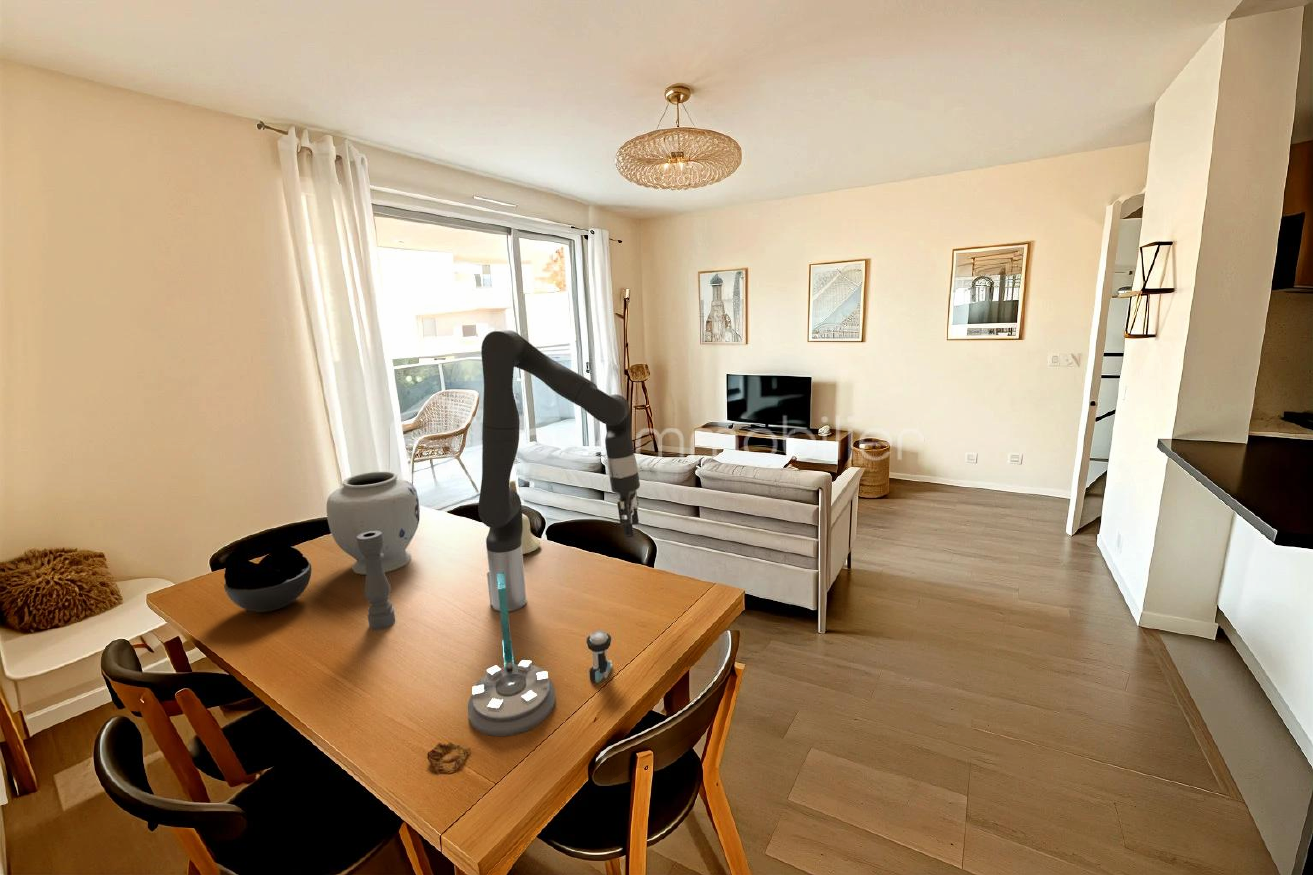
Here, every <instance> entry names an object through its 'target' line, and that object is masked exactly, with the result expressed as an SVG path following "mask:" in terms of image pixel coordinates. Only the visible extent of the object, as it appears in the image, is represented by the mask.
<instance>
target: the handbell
mask: <svg viewBox="0 0 1313 875" xmlns="http://www.w3.org/2000/svg"><path fill="white" fill-rule="evenodd" d="M509 487H510V488H512V489H514V490H515V491H516V492H517V493H518V491H517V489H518V488H517V485H516V482H515V480H511V481H510V483H509ZM522 521H523V532H522V537H521V543H522V555H524V554H530V553H531V552H533V551H535V550H537V549H538V548H539V547H540V545H541V541H540V539H539V538H538V537H536V536H535V535H534V534H533V533H532V531H531V524H530V523H531V522H530V519H529V517H528V516H527V515H526V514H524V513H522Z"/></svg>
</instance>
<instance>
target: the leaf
mask: <svg viewBox="0 0 1313 875" xmlns="http://www.w3.org/2000/svg"><path fill="white" fill-rule="evenodd" d="M454 750H456V751H457V750H458V751H457V753H458V754H457V755H454V756H452V757H451V758H448V759H447V758H446V759H445V758H444V757H445V756H447V755H449V754H452V752H453V751H454ZM470 753H471V748H470V747H469V748H466V747H462V746H461V745H459V744H455V743H452V742H451V741H449V742H448V743H447V744H446V743H441V742H438V743H437V744H436V745H435V747H434V748H433V749H431V750H430V751H428V752H427V754H426V755H427V757H426V759H427V760H428V762H429V765H431V766H432V767H433V770H434V771H436V772H437V773H438V774H445V775H448V774H450V773H451V774H452V773H454V772H456V770H457V769H460V767H461V766H462V765H463V762H464V761H465V759H466V758H467V757H468V756H469V755H470ZM454 762H455V763H454ZM447 763H448V764H450V763H454V766H452V769H447V768H445V767H444V765H443V764H447Z"/></svg>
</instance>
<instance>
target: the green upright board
mask: <svg viewBox="0 0 1313 875" xmlns="http://www.w3.org/2000/svg"><path fill="white" fill-rule="evenodd" d="M497 583H498V594H499V605H500V611H499V612H500V622H501V623H500V625H501V634H502V651H503V652H502V653H503V654H502V655H503V665H504V666H502V667H501V666H500V667H499V666H498V665H494V666H492V667H490V668H488V669H486V675H484V676H483V677H481V679H479V680H478V681H477V682H476V684H475V685H474V686H472V694H471V696H472V698H473V707H474V710H475V712H476V713H477V714H478V715H479V716H480V717H481V718H483V719H486V720H489V721H494V722H507V721H513V720H517V719H520V718H523V717H525V716H527V715H530V714H531V713H533V712H535V711H536V710H537V709H539V708H540V707H541V706H542V705H543V704H544V703H545V701H546V700H547V698H548V695H549V691H550V689H549V679H550V677H549V675H548V671H546V670H545V669H542V667H539V666H537V665H535V664H532V660H525V659H522V660H521V661H520V662H519V663H514V653H513V652H514V651H513V643H512V638H511V629H510V620H509V619H510V617H509V611H508V606H507V596H506V586H505V576H504V572H503V573H497Z"/></svg>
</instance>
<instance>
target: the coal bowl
mask: <svg viewBox="0 0 1313 875" xmlns="http://www.w3.org/2000/svg"><path fill="white" fill-rule="evenodd" d="M245 548H246V547H245V545H243V544H240V545H238V546H237V547H236V548H234V551H233V552H231V553H230V554H229V555H227V556H226V558H225V562H226V563H227V564H226V566H225V568H224V576H223V577H224V581H225V583H224V585H223V589H224V592H225V593H226V595H227V597H228V598H229V599H230V600H231V601H232V602H233V603H234V604H235V605H236V606H238V607H240V608H241V609H243V610H247V611H250V612H259V613H264V612H273V611H276V610H279V609H282V608H284V607H287V606H288V605H290V604H292V603H293V602H295V601H296V600H297V599H298V598H299V597H300V596H301V595H302V594H303V592H304V591H305V590H306V589H307V587H308V584H309V583H310V579H311V577H312V564H311V563H310V561H309V560H308V559H307V557H306V556H304V554H303V553H302V552H301V551H300V550H299V549H297V548H295V547H292V546H291V544H290V541H289V539H287V538H286V539H285V538H283V539H280V540H277V541H276V542H275V543H274V544H272V545H269V547H268V548H269V549H266V550H265V551H264V554H266V555H265V556H264V557H263V558H262V559H260V561H259V562H258V563H256V562H254V561H250V560H248V558H247V557H246V556H245V555H244V551H245Z"/></svg>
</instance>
